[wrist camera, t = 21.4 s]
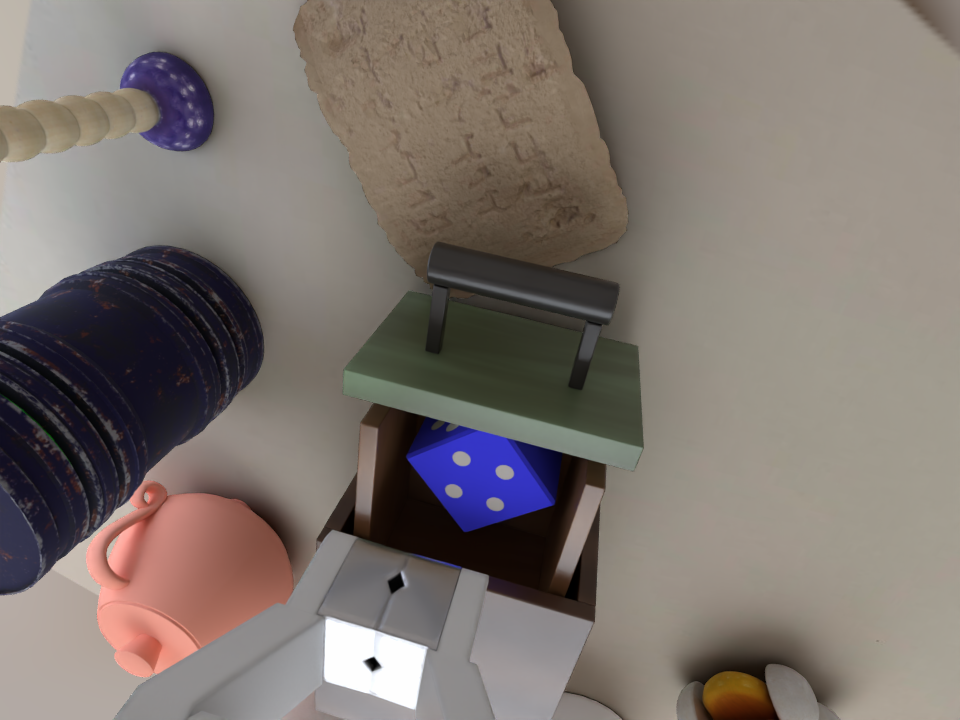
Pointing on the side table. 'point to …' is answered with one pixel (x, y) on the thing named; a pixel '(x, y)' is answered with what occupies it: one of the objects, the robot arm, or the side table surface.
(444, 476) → the die
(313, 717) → the dixie cup
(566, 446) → the drawer
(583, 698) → the mug
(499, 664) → the cabinet
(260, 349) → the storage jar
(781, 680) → the rainbow petal toy
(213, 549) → the sugar bowl
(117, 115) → the toy lamp
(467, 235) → the clay tablet
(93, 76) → the side table surface
